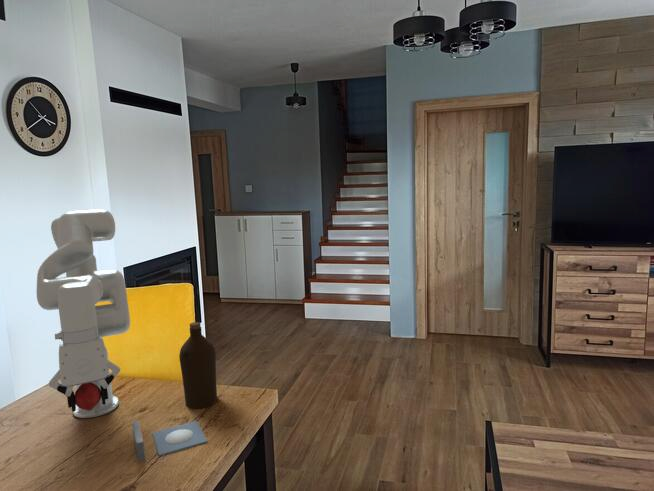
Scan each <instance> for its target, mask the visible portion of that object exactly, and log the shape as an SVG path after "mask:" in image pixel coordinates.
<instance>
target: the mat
mask: <svg viewBox="0 0 654 491" xmlns="http://www.w3.org/2000/svg"><path fill="white" fill-rule="evenodd" d="M152 438H153V441H154V444H155V447H156V450H157V453H158V457H162V456H165V455H168V454H172V453H175V452H178V451H179V452H180V451H182V450H185V449H189V448H193V447H196V446H199V445H203V444H206V443H208V440H207V438H206V435H205V434H204V432H203V429H202V427H201V426H200V424H199V422H198V420H194V421H190V422H187V423H182V424H179V425H175V426H173V427H169V428H164V429H161V430H156V431H154V432H152Z"/></svg>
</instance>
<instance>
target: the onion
mask: <svg viewBox="0 0 654 491" xmlns="http://www.w3.org/2000/svg"><path fill="white" fill-rule="evenodd" d="M100 399H101V390H100V388H99V387H98V386H97V385H96V384H94V383H91V382H89V383H84V384H82V385H80V386H79V388H78V389H77V390H76V389H75V391H74V401H75V404H76V405H77V406H78V407H79V408H81V409H83V410H87V411H91V410H92V409H93V408H94V407H95V406H96V405H97V404H98V403H99V401H100Z"/></svg>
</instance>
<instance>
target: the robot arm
mask: <svg viewBox="0 0 654 491" xmlns="http://www.w3.org/2000/svg"><path fill="white" fill-rule="evenodd" d="M50 231H51V236H52V238H53V241H54V243H55V244H54V245H56V248H57V249H56V250H54V251H53V252H52V253H51V254H49V256H47V258H45V260H44V261H43V262H42V263H41V265H40V267H39V269H38V270H37V277H36V300H37V302H38V305H39V307H40V308H41V309H43V310H47V311H52V310H55V311H56V310H58V314H59V315H58V316H59V321H60V322H59V323H60V330H61V331H59V332H57V333H54V339H55V340H60V341H61V342H60V343H59V347H58V367H59V369H58V370H57V372H56V373H55V374H54V375H53V377H52V378H51V379H50V380H49V381H48V386H49V387H50V388H52V389H53V390H56V391H57V392H59V393H61V394H63V395H64V396H65V397H66V398H67V406H68V409H69V408H71V411H72V414H73V415H74V417H77V418H80V419H90V418H95V417H99V416H103V415H105V414H108V413H111V412H112V411H113V410H115V409H116V408H117V407H118V406H119V402H120V401H119V398H118V396H115V395H113V388H112V382H113V380H114V379H115V378H116V377H117V375H118V374H119V373H121V367H120V366H118V365H116V364H115V363H113V362H112V361H110V360H109V355H108V354H109V353H108V350H107V348H106V344H105V342H104V339H103V338H104V337H105V338H106V337H111V336H117V335H122V334H125V333H126V332H128V331H129V329H130V327H131V320H130V319H131V318H130V310H129V303H128V302H129V300H128V294H127V287H126V281H125V278H124V275H123V273H121V272H120V271H119V270H117V269H109V270H98V267H97V266H98V265H97V258H96V256H95V255H94V244H93V242H103V241H106V242H107V241H111V240H112V239H113V238H114V237H115V235H116V221H115V218H114V216H113V214H112V213H111V212H110V211H109V210H107V209H88V210H73V211H68V212H65V213H63V214H62V215H60V216H59V217H57V218H55V219H54V220H52V221H51V224H50ZM64 274H65V277H60V276H61V275H64ZM103 302H110V303H108V304H107V303H106V304H101V305H96V304H98V303H103ZM110 370H111V372H110ZM59 380H60V382H61V383H60V382H59ZM89 382H91V383H94V384H96V385H97V386H98V387H99V388H100V390H101V399H100V401H99V403H98V404H97V405H96V406H95V407H94V408H93V409H92V410H91V411H87V410H83V409H81V408H79V407H78V406H77V405H76V404H75V401H74V395H75V391H76V390H77V389H78V388H79V386H80V385H82V384H84V383H89ZM74 386H75V391H73V390H74Z"/></svg>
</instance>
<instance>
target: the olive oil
mask: <svg viewBox="0 0 654 491" xmlns="http://www.w3.org/2000/svg"><path fill="white" fill-rule="evenodd" d="M189 334H190V335H189V337H188V339H186V341H185V342H183V344H182V345H181V348H180V350H179V365H180V371H181V377H182V383H183V392H184V394H183V395H184V401H185V405H186V406H187V407H188V408H190V409H203V408H204V409H205V408H207V407H210V406H211V405H214V404H215V403H216V401H217V400H218V395H217V394H218V392H217V367H216V366H217V362H216V360H217V358H216V357H217V355H216V349H215V346H214V344H213V343H212V342H211V341H210V339H208V338H207V337H205V336H204V335H203V334H202V326H201V322H200V321H194V322H190V323H189Z"/></svg>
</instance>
